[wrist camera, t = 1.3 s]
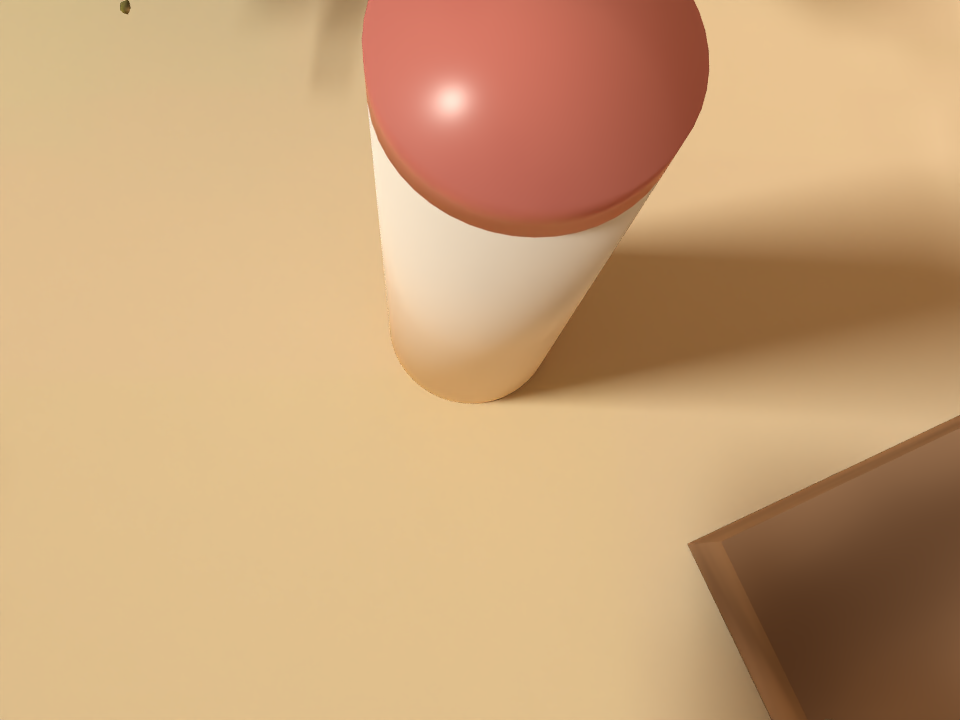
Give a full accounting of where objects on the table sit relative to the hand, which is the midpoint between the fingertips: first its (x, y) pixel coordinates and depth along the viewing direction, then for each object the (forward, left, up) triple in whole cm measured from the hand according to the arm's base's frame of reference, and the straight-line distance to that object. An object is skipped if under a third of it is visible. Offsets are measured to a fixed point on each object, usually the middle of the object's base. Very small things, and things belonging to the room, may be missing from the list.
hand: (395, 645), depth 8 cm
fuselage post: (+6, -5, -13) cm, 15 cm away
